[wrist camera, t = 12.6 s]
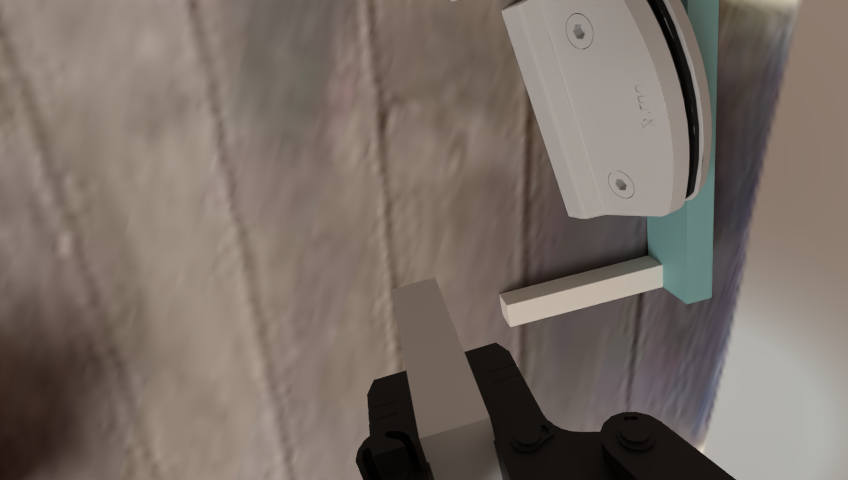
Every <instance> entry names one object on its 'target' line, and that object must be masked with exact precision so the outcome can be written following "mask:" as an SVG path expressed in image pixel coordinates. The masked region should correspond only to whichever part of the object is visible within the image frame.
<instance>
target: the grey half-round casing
mask: <svg viewBox="0 0 848 480" xmlns="http://www.w3.org/2000/svg"><path fill="white" fill-rule="evenodd" d="M501 12H502V15H503V18H504V21H505V24H506V27H507V30H508V33H509V36H510V40H511V43H512V46H513V49H514V52H515V55H516V58H517V61H518V64H519V67H520V70H521V73H522V76H523V79H524V82H525V85H526V88H527V91H528V94H529V97H530V100H531V103H532V106H533V109H534V112H535V115H536V118H537V122H538V125H539V128H540V131H541V134H542V137H543V140H544V143H545V146H546V149H547V152H548V155H549V158H550V161H551V164H552V167H553V170H554V173H555V176H556V179H557V182H558V185H559V188H560V191H561V194H562V197H563V200H564V204H565V207H566V210H567V213H568V216H570V217H575V218H580V219H588V218H592V217H597V216H601V215H630V216H659V217H662V216H665V215H667V214H670V213H672V212H674V211H676V210H678V209H680V208H681V207H682V206H683V204H684V202H685V201H688V200H691V199H693V198H694V197H695V196H696V195H697V194H698V192H699V191H700V190H701V188H702V187H703V186H704V184H705V181H706V177H707V172H708V168H709V161H710V153H711V139H712V123H711V106H710V97H709V90H708V83H707V78H706V74H705V69H704V64H703V60H702V57H701V53H700V50H699V46H698V43H697V40H696V37H695V34H694V31H693V28H692V25H691V23H690V21H689V18H688V16H687V13H686V11H685V9H684V6H683V4H682V2H681V0H522V1H520V2H518V3H515V4H513V5H510V6H508V7H506V8H505V9H503V10H502V11H501Z"/></svg>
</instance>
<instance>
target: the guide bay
mask: <svg viewBox="0 0 848 480" xmlns="http://www.w3.org/2000/svg"><path fill="white" fill-rule="evenodd" d="M453 1H457V0H451V2H453ZM681 2H682V4H683V6H684V9H685V11H686V13H687V16H688V18H689V21H690V23H691V25H692V28H693V31H694V34H695V37H696V40H697V43H698V46H699V50H700V53H701V57H702V60H703V64H704V69H705V74H706V78H707V83H708V90H709V97H710V106H711V123H712V139H711V153H710V161H709V168H708V172H707V177H706V181H705V184H704V186H703V187H702V188H701V190H700V191H699V192H698V194H697V195H696V196H695V197H694V198H693V199H691V200H688V201H685V202H684V204H683V206H682V207H681V208H680V209H678V210H676V211H674V212H672V213H670V214H667V215H665V216H662V217H659V216H647V232H648V256H644V257H640V258H636V259H633V260H629V261H625V262H621V263H617V264H613V265H610V266H606V267H602V268H598V269H594V270H590V271H586V272H583V273H579V274H575V275H571V276H567V277H563V278H559V279H556V280H552V281H548V282H544V283H540V284H536V285H532V286H529V287H525V288H521V289H517V290H513V291H509V292H505V293H502V294H499V295H500V301H501V307H502V313H503V316H504V318H505V319H506V321H507V323H508V324H509V326H510V327H512V326H516V325H520V324H524V323H528V322H531V321H535V320H539V319H543V318H547V317H550V316H554V315H558V314H562V313H565V312H569V311H573V310H577V309H581V308H584V307H588V306H592V305H596V304H600V303H603V302H607V301H611V300H615V299H618V298H622V297H626V296H630V295H634V294H637V293H641V292H645V291H649V290H653V289H656V288H660V287H664V288H665V289H667V290H668V291H670V292H671V293H672V294H674V295H675V296H676V297H678V298H679V299H681V300H682V301H683V302H685V303H686V304H689V303H693V302H697V301H701V300H704V299H708V298H712V259H713V219H714V179H715V139H716V99H717V59H718V19H719V0H681Z"/></svg>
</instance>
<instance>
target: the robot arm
mask: <svg viewBox="0 0 848 480" xmlns="http://www.w3.org/2000/svg"><path fill="white" fill-rule="evenodd" d="M391 292H392V298H393V303H394V308H395V313H396V319H397V324H398V329H399V334H400V340H401V345H402V350H403V355H404V361H405V366H406V371H403V372H400V373H396V374H393V375H390V376H386V377H383V378H379V379H376V380H374V381H373V383H372V385H371V388H370V390H369V392H368V394H367V398H368V410H369V412H368V413H369V423H370V424H369V429H370V436H369V437H368V438H367V439H366V440H364V442H363V443H362V445H361V446H360V448H359V449H358V452H357V457H356V463H357V465H358V468H359V470H360V473H361V475H362V478H363V480H736V479H734V478H733V477H732V476H730V475H729V474H728V473H726V472H725V471H724V470H723V469H721V468H720V467H719V466H718V465H716V464H715V463H714V462H712V461H711V460H710V459H708V458H707V457H706V456H705V455H703V454H702V453H701V452H700V451H698V450H697V449H696V448H694V447H693V446H692V445H690V444H689V443H688V442H687V441H685V440H684V439H683V438H681V437H680V436H679V435H678V434H676V433H675V432H674V431H672V430H671V429H670V428H669V427H667V426H666V425H665V424H663V423H662V422H661V421H659V420H657V419H655V418H654V417H652V416H650V415H647V414H642V413H638V412H622V413H620V414H617V415H614V416H611V417H610V418H609V419H608V420H607V421H606V422H604V424H603V426H602V429H601V431H600V432H573V431H568V430H564V429H561V428H559V427H557V426H555V425H553V424H552V422H550V421H548V420H547V419H546V417H545V416H544V415H543V413H542V412H541V410H540V408H539V406H538V404H537V402H536V400H535V399H534V397H533V395H532V393H531V391H530V389H529V387H528V386H527V384H526V382H525V380H524V378H523V376H522V375H521V373H520V371H519V369H518V367H517V366H516V363H515V361H514V360H513V358H512V356H511V354H510V352H509V351H508V350H506V349H505V348H503V347H502V346H500V345H499V344H497V343H493V344H490V345H487V346H483V347H480V348H476V349H473V350H470V351H466V352H464V350H463V348H462V345H461V343H460V340H459V337H458V335H457V332H456V330H455V327H454V325H453V322H452V320H451V317H450V314H449V312H448V309H447V307H446V304H445V302H444V299H443V297H442V294H441V291H440V289H439V286H438V284H437V281H436V279H435V277H434V278H431V279H427V280H424V281H421V282H417V283H414V284H410V285H407V286H403V287H400V288H396V289H393V290H391Z"/></svg>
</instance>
